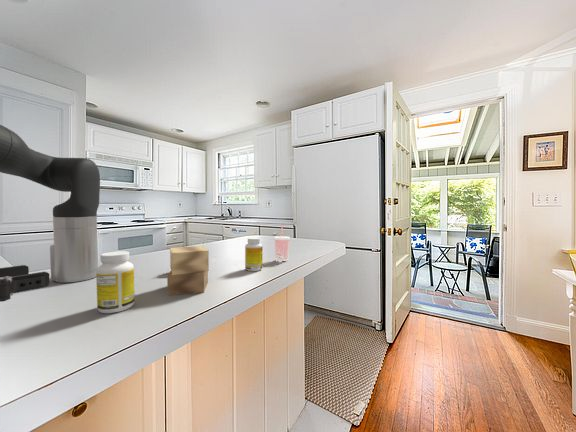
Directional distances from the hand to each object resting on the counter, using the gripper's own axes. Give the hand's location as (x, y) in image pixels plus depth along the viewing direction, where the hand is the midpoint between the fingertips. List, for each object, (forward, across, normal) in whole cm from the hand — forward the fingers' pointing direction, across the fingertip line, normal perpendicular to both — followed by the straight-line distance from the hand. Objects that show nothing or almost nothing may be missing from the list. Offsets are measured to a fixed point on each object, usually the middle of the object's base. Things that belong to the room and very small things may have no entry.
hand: (37, 274), depth 39 cm
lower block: (+27, -2, +9) cm, 29 cm away
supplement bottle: (+50, -6, +9) cm, 51 cm away
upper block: (+27, -2, +4) cm, 27 cm away
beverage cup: (+65, -7, +9) cm, 66 cm away
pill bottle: (+12, 0, +10) cm, 15 cm away
